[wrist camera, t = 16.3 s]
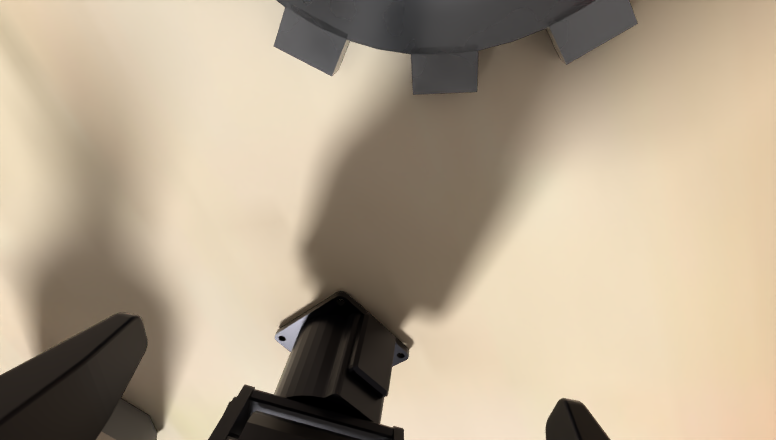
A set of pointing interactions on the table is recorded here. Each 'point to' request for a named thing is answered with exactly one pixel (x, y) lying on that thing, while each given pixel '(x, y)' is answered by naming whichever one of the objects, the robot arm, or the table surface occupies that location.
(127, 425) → the liquor
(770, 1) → the table surface
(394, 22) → the timing wheel
